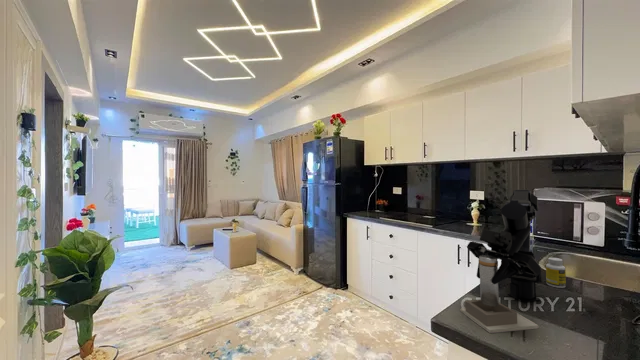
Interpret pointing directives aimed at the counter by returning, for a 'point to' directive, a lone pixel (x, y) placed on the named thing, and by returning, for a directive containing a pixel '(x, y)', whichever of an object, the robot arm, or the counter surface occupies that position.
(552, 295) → the counter surface
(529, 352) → the counter surface
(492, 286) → the grey metal tumbler
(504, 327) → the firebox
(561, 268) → the supplement bottle
